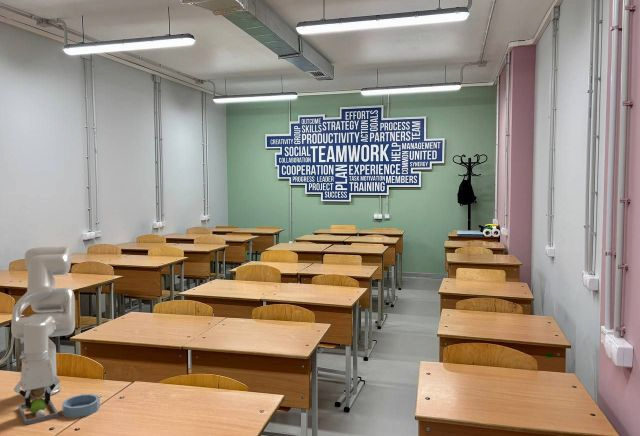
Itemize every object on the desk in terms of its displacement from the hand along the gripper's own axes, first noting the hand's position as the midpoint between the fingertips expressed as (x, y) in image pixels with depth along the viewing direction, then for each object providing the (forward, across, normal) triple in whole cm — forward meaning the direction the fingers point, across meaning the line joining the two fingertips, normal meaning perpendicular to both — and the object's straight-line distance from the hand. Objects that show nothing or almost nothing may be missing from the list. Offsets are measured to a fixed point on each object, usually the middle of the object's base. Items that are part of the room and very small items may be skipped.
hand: (37, 404), depth 183 cm
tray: (+3, 0, 0) cm, 3 cm away
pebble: (+3, 0, -5) cm, 6 cm away
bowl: (+3, +13, -7) cm, 15 cm away
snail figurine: (+3, -1, 0) cm, 3 cm away
